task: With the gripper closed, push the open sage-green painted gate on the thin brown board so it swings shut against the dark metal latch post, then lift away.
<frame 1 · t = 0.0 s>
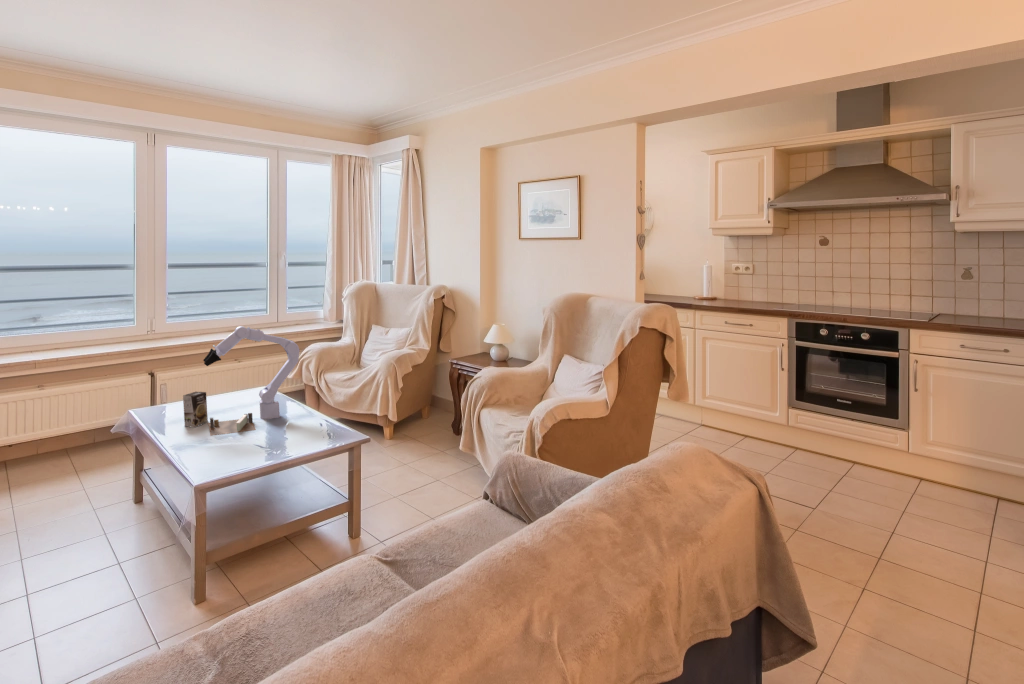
hand: (205, 363, 278), 32 cm above the table, tool tilted 50°, fingers open, 7 cm apart
coffee box: (196, 424, 285), on the table
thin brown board: (231, 427, 281), on the table
gate: (242, 422, 280), point 3 cm above the table, hinge at 70.0°
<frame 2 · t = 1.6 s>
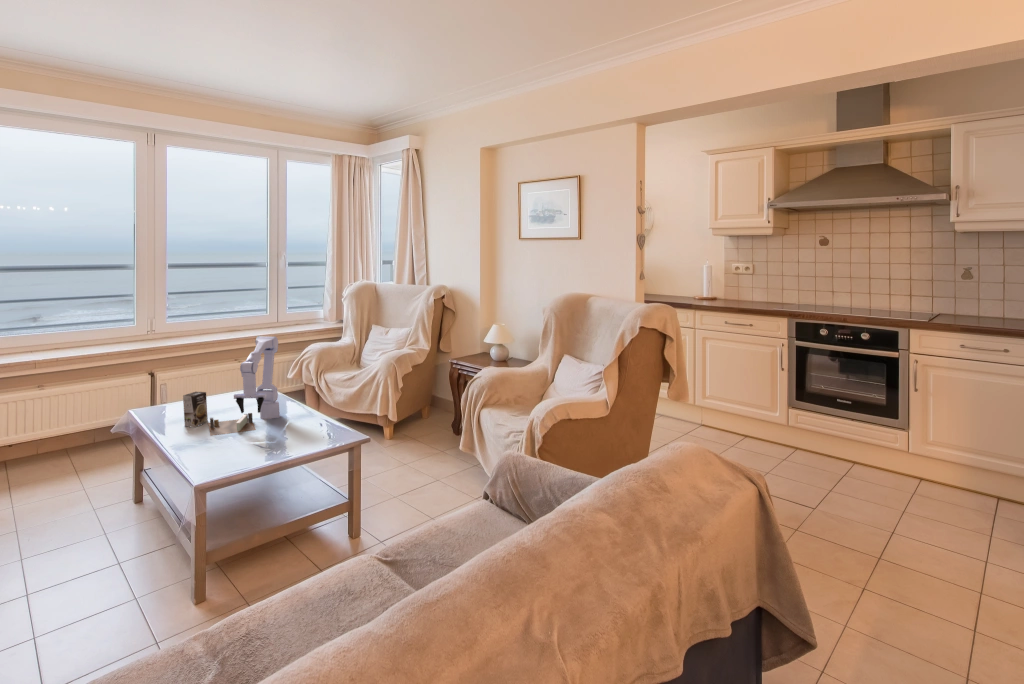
hand: (250, 412, 276), 10 cm above the table, tool pointing down, fingers open, 7 cm apart
nothing on the table moved.
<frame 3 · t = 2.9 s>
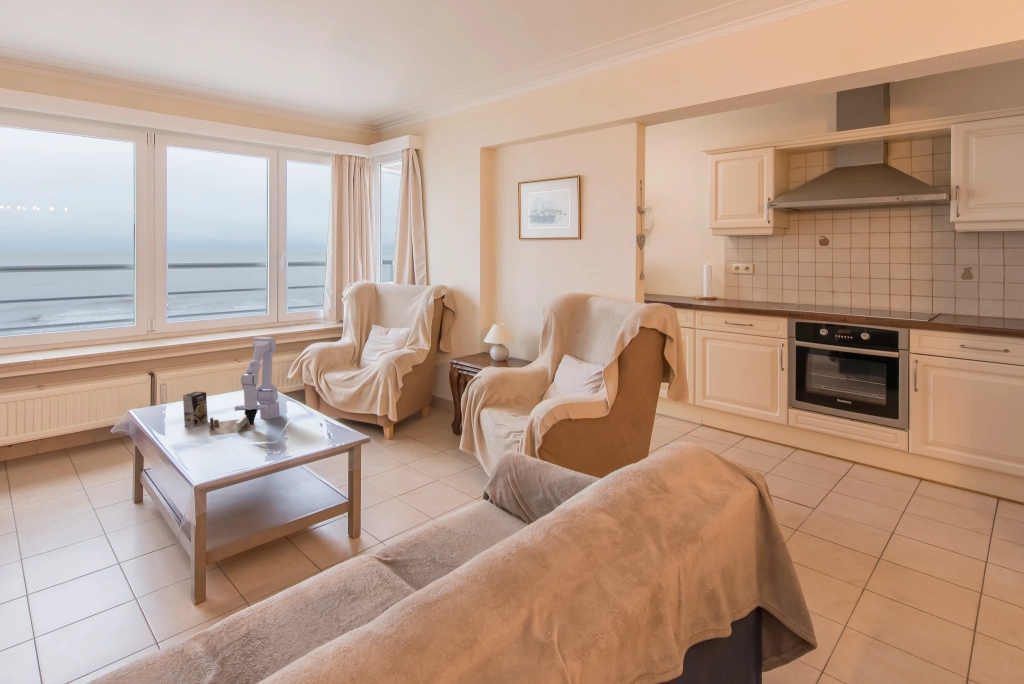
hand: (251, 424, 277), 4 cm above the table, tool pointing down, fingers closed
nothing on the table moved.
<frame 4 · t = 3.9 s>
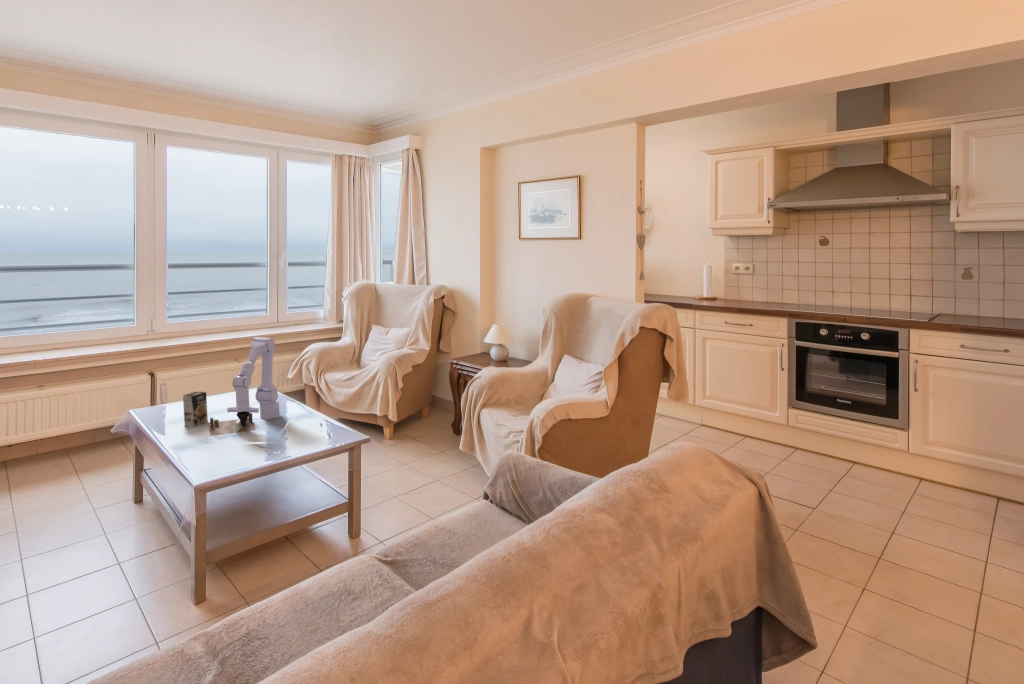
hand: (243, 426, 276), 2 cm above the table, tool pointing down, fingers closed
gate: (241, 422, 280), point 3 cm above the table, hinge at 67.8°, touching gripper
everything else where it was.
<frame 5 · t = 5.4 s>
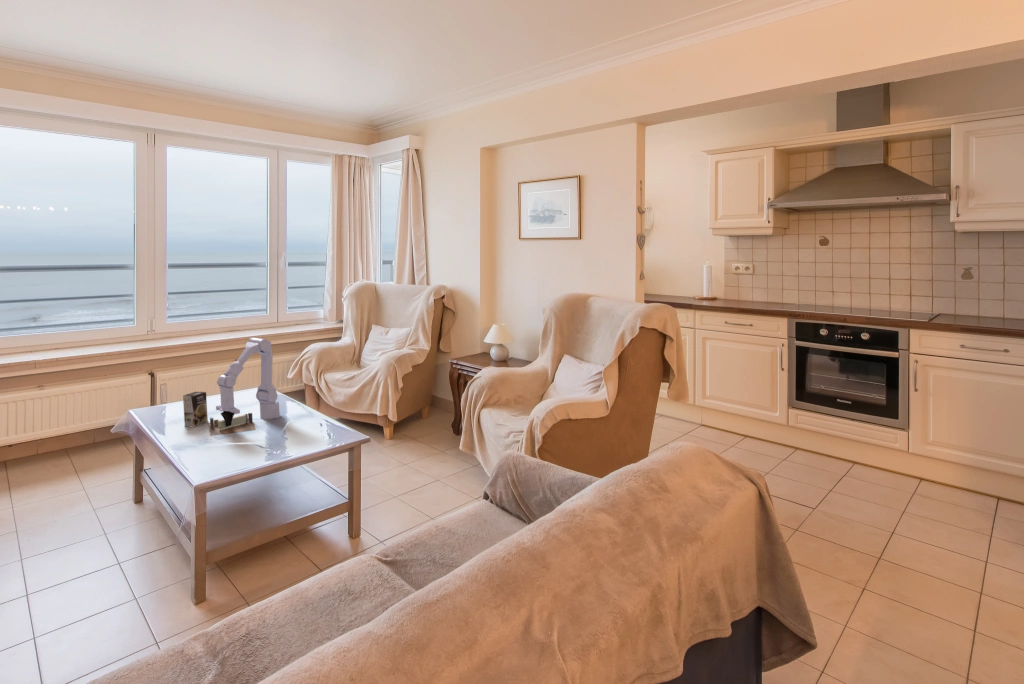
hand: (228, 425, 276), 2 cm above the table, tool pointing down, fingers closed
gate: (233, 421, 280), point 3 cm above the table, hinge at 28.0°, touching gripper
everything else where it was.
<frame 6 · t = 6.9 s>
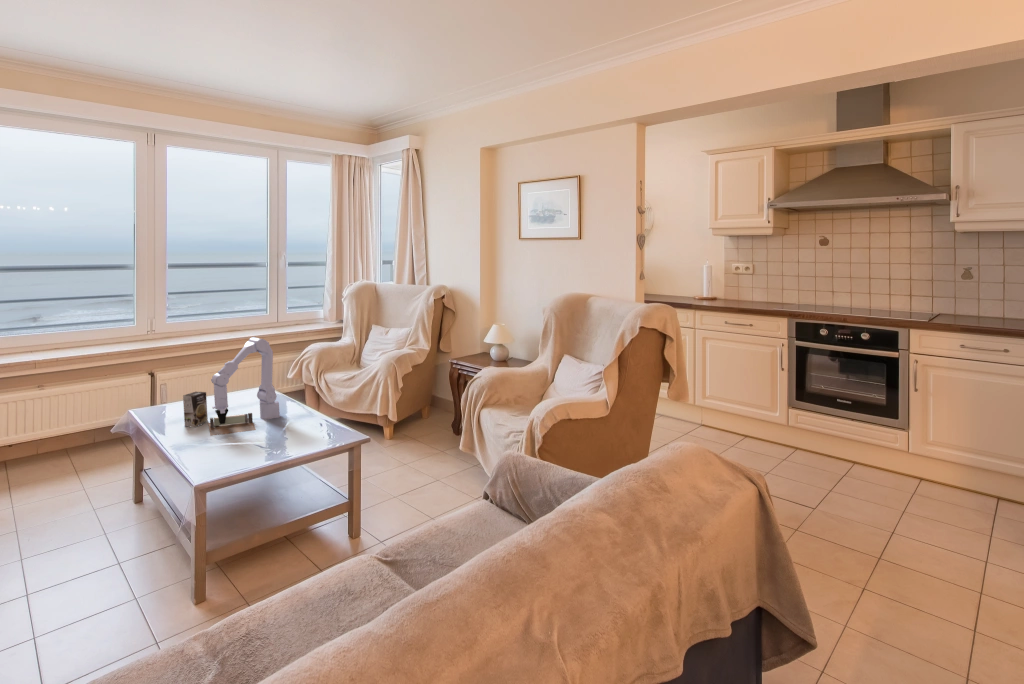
hand: (222, 423, 279), 2 cm above the table, tool pointing down, fingers closed
gate: (231, 419, 283), point 3 cm above the table, hinge at -1.2°, touching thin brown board, gripper
everything else where it was.
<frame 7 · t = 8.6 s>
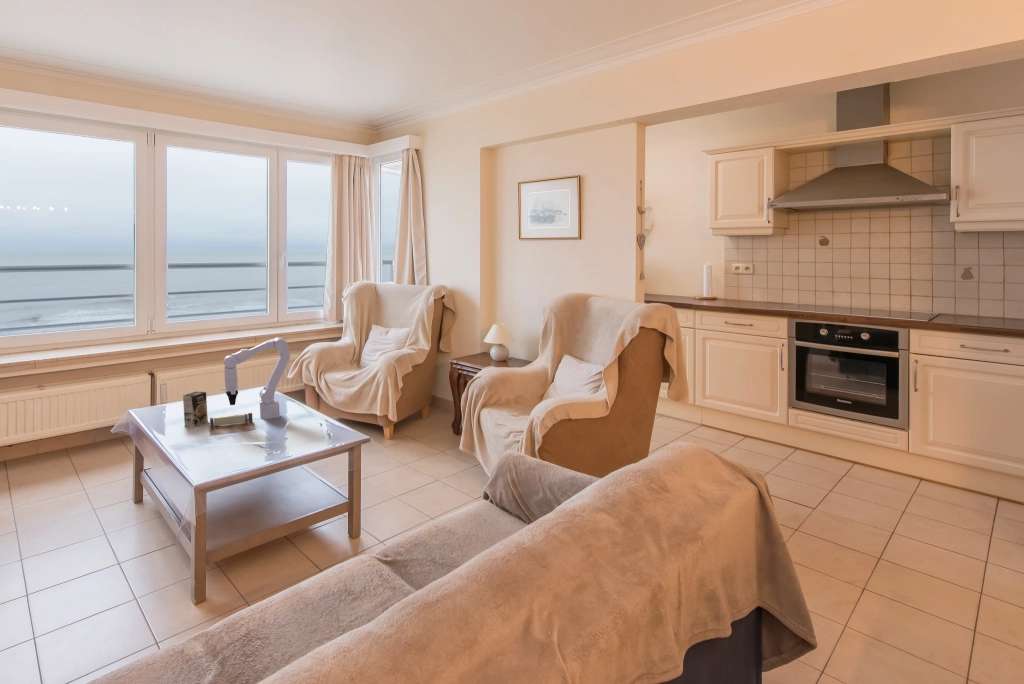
hand: (232, 404, 288), 9 cm above the table, tool pointing down, fingers closed
gate: (231, 419, 283), point 3 cm above the table, hinge at -1.2°, touching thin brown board
everything else where it was.
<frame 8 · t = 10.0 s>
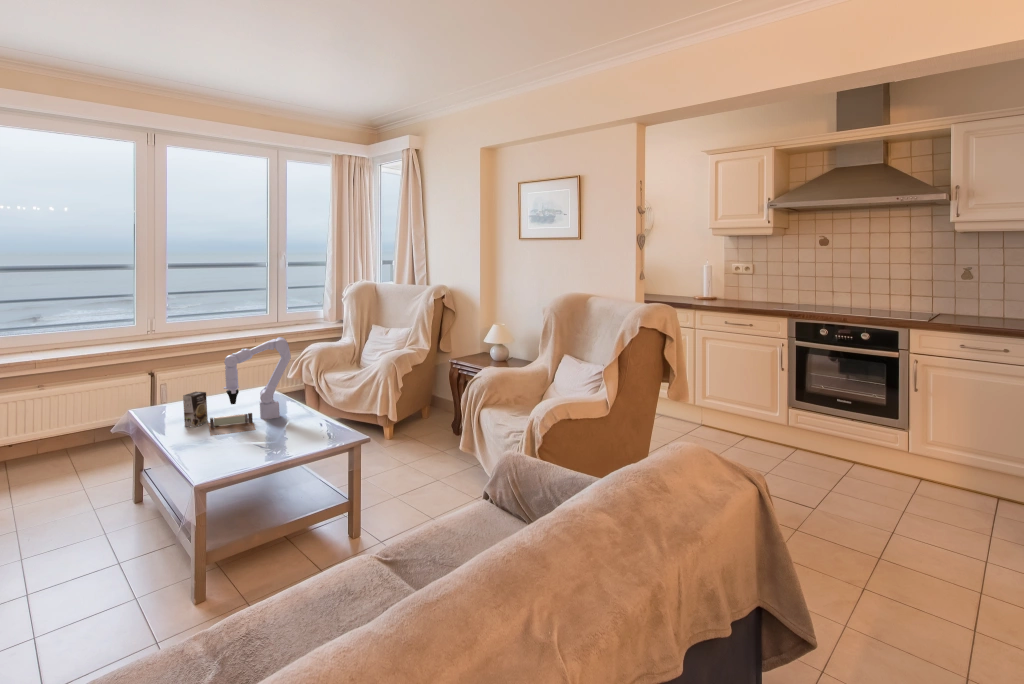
hand: (233, 403, 289), 9 cm above the table, tool pointing down, fingers closed
nothing on the table moved.
at the end: gate at -1° (first picture: +70°); coffee box moved 0.2 cm from its start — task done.
